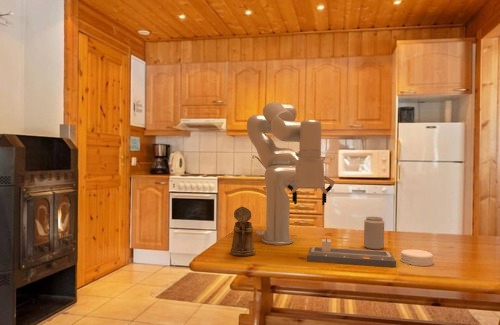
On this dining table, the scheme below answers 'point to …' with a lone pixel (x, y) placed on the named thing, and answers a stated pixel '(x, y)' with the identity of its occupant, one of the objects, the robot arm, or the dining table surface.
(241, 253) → the brown bell figurine
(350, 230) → the dining table surface
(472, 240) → the dining table surface
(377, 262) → the dark grey tray
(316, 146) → the robot arm
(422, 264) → the white cheese wheel
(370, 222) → the can
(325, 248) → the cap
